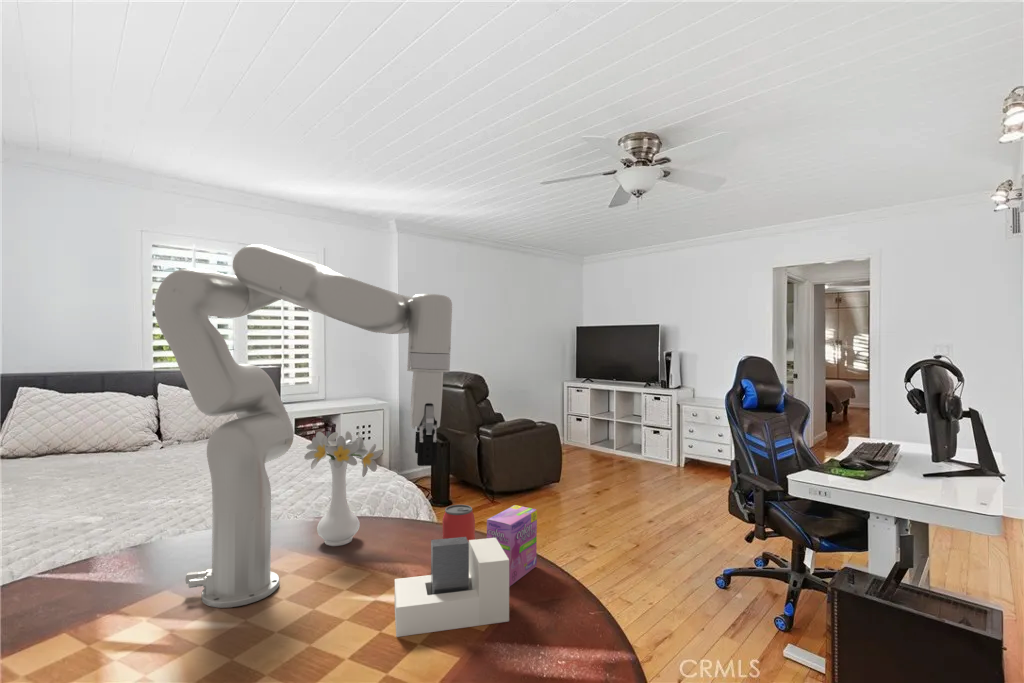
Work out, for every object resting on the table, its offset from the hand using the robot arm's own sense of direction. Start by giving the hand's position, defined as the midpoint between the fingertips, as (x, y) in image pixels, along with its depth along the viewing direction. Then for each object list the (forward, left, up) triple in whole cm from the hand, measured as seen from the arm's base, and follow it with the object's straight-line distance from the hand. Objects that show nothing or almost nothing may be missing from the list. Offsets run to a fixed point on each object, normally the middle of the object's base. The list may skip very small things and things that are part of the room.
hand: (425, 458), depth 90 cm
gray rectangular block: (+4, -6, -25) cm, 26 cm away
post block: (+4, -6, -25) cm, 26 cm away
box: (+18, +6, -25) cm, 31 cm away
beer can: (+8, +11, -25) cm, 28 cm away
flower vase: (-16, +32, -25) cm, 44 cm away
